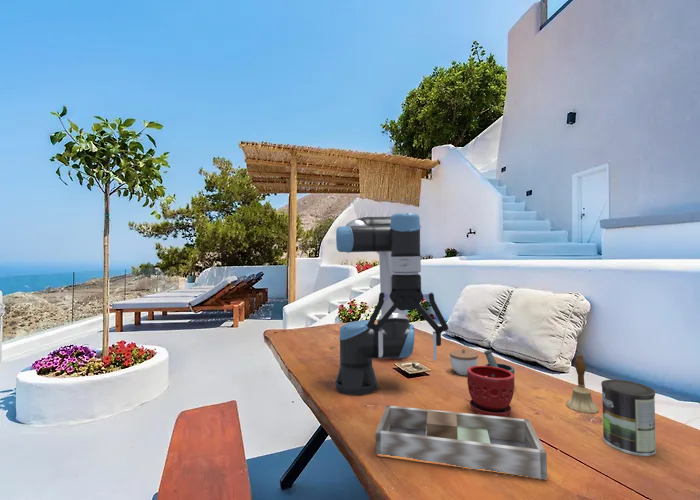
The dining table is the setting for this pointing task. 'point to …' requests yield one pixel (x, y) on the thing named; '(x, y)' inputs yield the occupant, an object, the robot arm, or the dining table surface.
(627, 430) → the coffee can
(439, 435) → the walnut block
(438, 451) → the box
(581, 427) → the dining table surface
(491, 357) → the mortar and pestle
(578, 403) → the hand bell
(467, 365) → the lidded jar
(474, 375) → the plant pot
